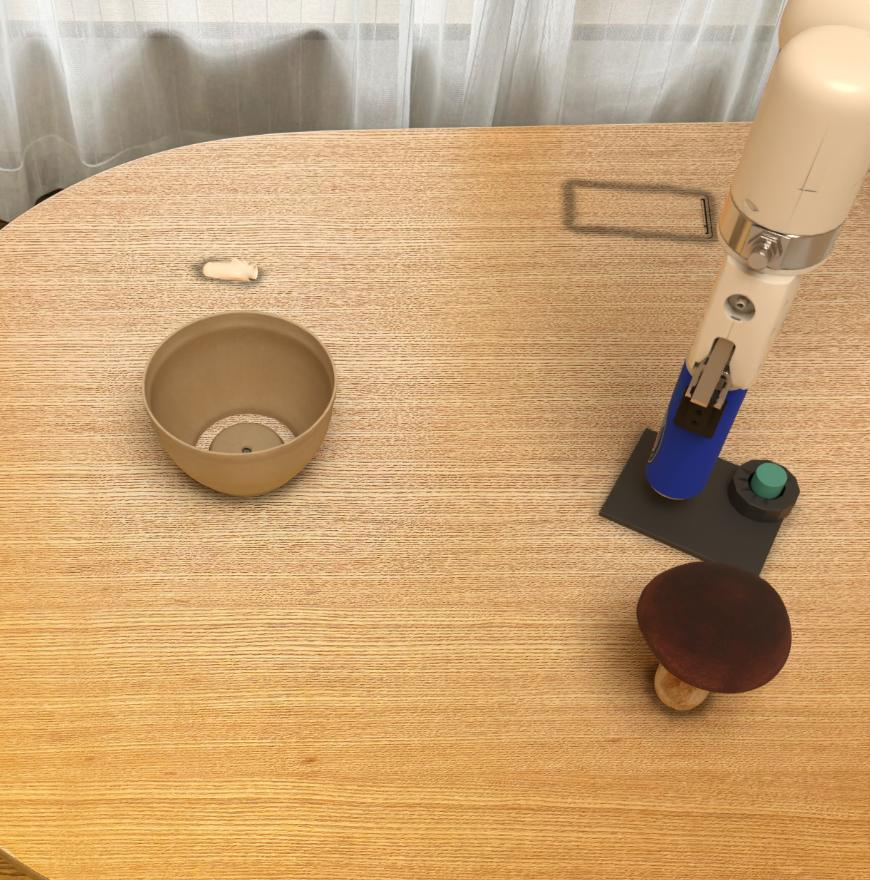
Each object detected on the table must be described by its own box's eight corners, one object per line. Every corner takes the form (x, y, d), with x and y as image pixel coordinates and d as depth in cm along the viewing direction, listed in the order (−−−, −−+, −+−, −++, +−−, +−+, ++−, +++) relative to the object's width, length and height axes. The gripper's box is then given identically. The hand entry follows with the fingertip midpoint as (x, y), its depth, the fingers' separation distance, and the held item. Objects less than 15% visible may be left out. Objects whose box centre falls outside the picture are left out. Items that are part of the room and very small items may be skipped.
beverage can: (667, 446, 102) (715, 321, 90) (716, 480, 100) (772, 356, 88) (631, 478, 100) (675, 355, 88) (680, 513, 98) (732, 392, 86)
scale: (793, 499, 104) (807, 475, 101) (754, 592, 98) (767, 569, 95) (642, 437, 108) (651, 412, 105) (596, 523, 102) (604, 498, 99)
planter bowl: (231, 369, 112) (223, 283, 103) (370, 445, 107) (375, 362, 98) (118, 476, 104) (99, 393, 95) (262, 564, 99) (257, 486, 90)
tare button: (784, 482, 101) (791, 470, 100) (775, 503, 100) (782, 491, 98) (755, 470, 102) (761, 458, 100) (745, 491, 100) (752, 478, 99)
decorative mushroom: (594, 639, 95) (635, 532, 83) (726, 632, 96) (786, 525, 84) (623, 764, 89) (672, 668, 77) (764, 755, 90) (835, 659, 77)
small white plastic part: (217, 258, 121) (215, 234, 118) (263, 283, 119) (261, 259, 116) (194, 277, 119) (192, 254, 117) (240, 302, 117) (239, 279, 115)
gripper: (797, 321, 72) (715, 499, 87) (871, 168, 80) (785, 353, 95) (680, 278, 74) (620, 459, 89) (765, 133, 83) (697, 320, 97)
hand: (706, 403), depth 92 cm, fingers closed on beverage can, 5 cm apart
